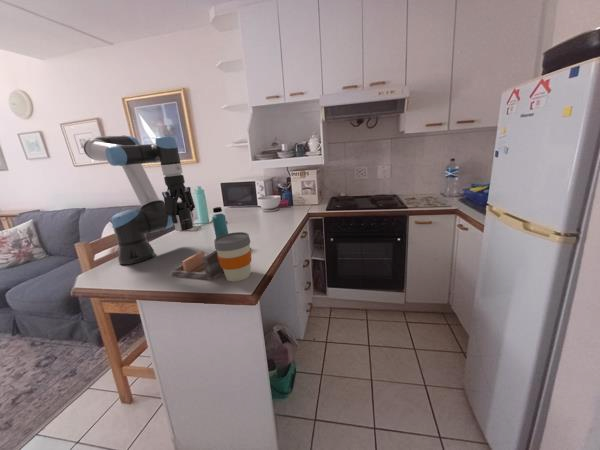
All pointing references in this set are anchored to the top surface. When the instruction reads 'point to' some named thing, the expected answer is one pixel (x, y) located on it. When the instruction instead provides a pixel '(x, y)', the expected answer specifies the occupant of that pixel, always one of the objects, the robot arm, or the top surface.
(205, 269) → the grey stand
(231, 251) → the reusable coffee cup
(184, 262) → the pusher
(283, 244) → the top surface
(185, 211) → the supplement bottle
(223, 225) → the beverage bottle
